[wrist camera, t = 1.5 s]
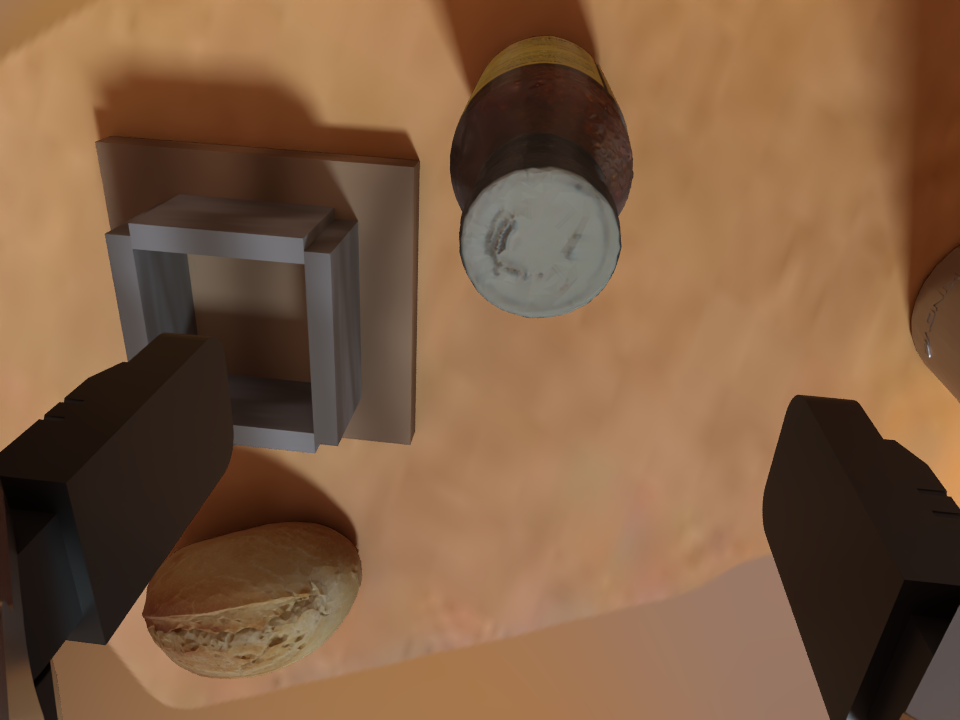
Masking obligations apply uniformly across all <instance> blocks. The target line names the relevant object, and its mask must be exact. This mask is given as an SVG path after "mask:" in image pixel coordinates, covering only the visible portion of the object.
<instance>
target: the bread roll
mask: <svg viewBox="0 0 960 720" xmlns="http://www.w3.org/2000/svg"><path fill="white" fill-rule="evenodd" d="M358 551H359V549H357V548H355V547H354V545H353V544H352V543H351V542H350V541H349V540H348V539H347V538H346V537H344V536H343V535H341V534H340V533H338V532H337V531H335V530H333V529H331V528H329V527H326V526H323V525H320V524H316V523H306V522H282V523H273V524H265V525H263V526H258V527H254V528H249V529H246V530H241V531H236V532H232V533H229V534H226V535H222V536H219V537H215V538H212V539H208V540H204V541H201V542H197V543H194V544H190V545H188V546H185V547H183V548H181V549H180V550H178V551H176V552H175V553H174V554H172V555H171V556H170V557H169V558H168V559H167V560H166V561H165V562H164V563H163V564H162V565H161V566H160V567H159V569H158V570H157V571H156V573H155V574H154V576H153V577H152V579H151V580H150V582H149V584H148V587H147V594H146V602H145V606H144V610H143V612H142V616H143V618H145V621H146V624H147V628H148V631H149V633H150V635H151V636H152V638H153V640H154V642H155V643H156V644H157V645H158V646H159V647H160V648H161V649H162V650H163V651H164V652H165V653H166V655H167V656H168V657H169V658H170V659H171V660H172V661H173V662H175V663H176V664H177V665H179V666H180V667H182V668H184V669H186V670H188V671H190V672H192V673H194V674H197V675H199V676H203V677H208V678H220V679H234V678H248V677H254V676H259V675H264V674H267V673H270V672H274V671H276V670H278V669H281V668H283V667H286V666H288V665H290V664H292V663H294V662H296V661H298V660H300V659H302V658H303V657H305V656H307V655H309V654H310V653H312V652H313V651H315V650H316V649H317V648H319V647H320V646H321V645H322V644H323V643H324V642H325V641H326V640H327V639H328V638H330V637H331V635H332V634H333V633H334V632H335V631H336V630H337V629H338V627H339V626H340V625H341V623H342V622H343V620H344V619H345V618H346V616H347V615H348V613H349V611H350V609H351V607H352V605H353V603H354V601H355V598H356V596H357V593H358V590H359V587H360V585H361V580H362V568H361V560H360V557H359V555H358Z"/></svg>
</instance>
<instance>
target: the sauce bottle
mask: <svg viewBox="0 0 960 720" xmlns="http://www.w3.org/2000/svg"><path fill="white" fill-rule="evenodd" d="M632 168H633V158H632V150H631V146H630V142H629V137H628V132H627V126H626V123H625V120H624V117H623V114H622V112H621V110H620V107H619V105H618V103H617V101H616V99H615V97H614V95H613V93H612V90H611V88H610V86H609V84H608V82H607V80H606V78H605V76H604V74H603V72H602V70H601V68H600V66H599V65H596V64H595V63H594V60H593V58H592V57H591V55H589V54H588V53H587V52H586V51H585V50H584V49H582V48H581V47H579V46H578V45H576V44H574V43H572V42H570V41H568V40H565V39H562V38H558V37H555V36H538V37H535V36H534V37H531V38H527V39H524V40H521V41H518V42H516V43H514V44H512V45H510V46H508V47H507V48H505V49H504V50H503V51H501V52H500V53H499V54H497V55H496V56H495V57H494V58H493V59H492V60H491V62H490V63H489V64H488V65H487V67H486V68H485V70H484V71H483V73H482V75H481V77H480V79H479V81H478V83H477V85H476V87H475V89H474V91H473V93H472V95H471V97H470V99H469V101H468V103H467V105H466V107H465V109H464V112H463V114H462V116H461V118H460V120H459V123H458V125H457V128H456V131H455V134H454V138H453V141H452V148H451V154H450V174H451V182H452V186H453V190H454V193H455V196H456V199H457V201H458V204H459V206H460V208H461V210H462V216H461V222H460V224H461V226H460V232H459V240H460V251H459V252H460V256H461V259H462V263H463V266H464V268H465V270H466V273H467V275H468V277H469V278H470V280H471V282H472V283H473V285H474V287H475V288H476V290H477V291H478V292H479V293H480V294H481V295H482V296H483V297H484V298H485V299H486V300H487V301H489V302H490V303H492V304H493V305H495V306H497V307H498V308H500V309H501V310H504V311H507V312H510V313H513V314H517V315H521V316H523V317H526V318H544V317H553V316H559V315H563V314H567V313H570V312H572V311H574V310H576V309H577V308H579V307H582V306H584V305H586V304H587V303H589V302H590V301H591V300H592V299H593V298H594V297H596V296H597V295H598V294H599V293H600V292H601V291H602V290H603V289H604V287H605V286H606V284H607V283H608V281H609V280H610V278H611V276H612V274H613V273H614V270H615V268H616V265H617V262H618V258H619V255H620V250H621V235H620V223H619V218H618V216H619V214H620V213H621V211H622V209H623V207H624V206H625V203H626V201H627V199H628V195H629V191H630V188H631V183H632V179H633V170H632Z"/></svg>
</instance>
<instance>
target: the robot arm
mask: <svg viewBox="0 0 960 720" xmlns="http://www.w3.org/2000/svg"><path fill="white" fill-rule="evenodd" d="M911 320H912V337H913V341H914V344H915V348H916V351H917V352H918V354H919V356H920V357H921V359H922V360H923V362H924V363H925V365H926V366H927V367H928V368H929V369H930V370H931V371H932V372H933V374H934V375H935V376H936V377H937V378H938V379H939V380H940V381H941V382H942V383H943V385H944V386H945V387H946V388H947V389H948V390H949V391H950V392H951V393H952V395H953V396H954V397H955V398H956V399H957V400H958V402H959V403H960V246H959V247H957V248H956V249H954V250H953V251H952V252H951V253H949V254H948V255H947V256H946V257H945V258H944V259H943V260H942V261H941V262H940V263H939V264H938V265H937V266H936V267H935V268H934V270H933V271H932V273H931V274H930V275H929V277H928V278H927V279H926V281H925V282H924V284H923V286H922V288H921V290H920V292H919V294H918V296H917V299H916V301H915V305H914V309H913V314H912V318H911ZM64 399H65V400H64V403H63V402H59V403H58V404H57V405H56V406H54V407H53V408H52V409H51V410H50V411H49V412H47V413H46V414H45V415H44V420H40V419H39V420H38V421H37V422H35V423H34V424H33V425H32V426H31V427H30V428H28V429H27V430H26V431H25V432H24V433H22V434H21V435H20V436H19V437H18V438H17V439H15V440H14V441H13V442H12V443H11V444H9V445H8V446H7V447H6V448H5V449H3V450H2V451H1V452H0V720H63V716H62V708H61V701H60V695H59V687H58V680H57V674H56V671H55V667H54V663H53V660H52V658H53V656H54V655H55V653H56V652H57V651H58V650H59V648H60V647H61V646H62V644H63V643H64V642H65V640H69V641H78V642H85V643H93V644H101V645H106V644H107V643H108V641H109V640H110V638H111V637H112V635H113V634H114V632H115V631H116V630H117V628H118V627H119V625H120V624H121V622H122V621H123V619H124V618H125V616H126V615H127V614H128V612H129V611H130V609H131V608H132V606H133V605H134V603H135V602H136V601H137V599H138V598H139V596H140V595H141V593H142V592H143V590H144V589H145V587H146V586H147V585H148V583H149V582H150V580H151V579H152V577H153V576H154V574H155V573H156V571H157V570H158V569H159V567H160V566H161V564H162V563H163V561H164V560H165V558H166V557H167V556H168V554H169V553H170V551H171V550H172V548H173V547H174V545H175V544H176V542H177V541H178V540H179V538H180V537H181V535H182V534H183V532H184V531H185V529H186V528H187V526H188V525H189V524H190V522H191V521H192V519H193V518H194V516H195V515H196V513H197V512H198V511H199V509H200V508H201V506H202V505H203V503H204V502H205V500H206V499H207V497H208V496H209V495H210V493H211V492H212V490H213V489H214V487H215V486H216V484H217V483H218V481H219V480H220V479H221V477H222V476H223V474H224V473H225V471H226V469H227V467H228V464H229V461H230V458H231V454H232V449H233V441H234V429H233V420H232V411H231V402H230V393H229V385H228V376H227V367H226V358H225V352H224V348H223V345H222V343H221V342H220V340H219V339H218V338H216V337H209V336H198V335H188V334H178V333H167V332H164V333H161V334H160V335H158V336H157V337H156V338H155V339H154V340H152V341H151V342H150V343H149V344H148V345H147V346H146V347H144V348H143V349H142V350H141V351H140V352H139V353H138V354H137V355H135V356H134V357H133V358H132V359H131V360H130V361H129V362H122V363H120V364H117V365H115V366H113V367H111V368H109V369H107V370H104V371H102V372H100V373H98V374H96V375H94V376H91V377H89V378H88V379H86V380H85V381H84V382H83V383H82V384H81V385H79V386H78V387H77V388H76V389H75V390H73V391H72V392H71V393H70V394H69V395H68V396H66V397H65V398H64ZM763 525H764V531H765V534H766V537H767V540H768V543H769V546H770V549H771V552H772V554H773V557H774V560H775V563H776V566H777V569H778V572H779V574H780V577H781V580H782V583H783V586H784V589H785V592H786V595H787V597H788V600H789V603H790V606H791V608H792V612H793V615H794V617H795V620H796V623H797V626H798V629H799V632H800V635H801V637H802V640H803V643H804V646H805V649H806V652H807V655H808V658H809V660H810V663H811V666H812V669H813V672H814V675H815V678H816V680H817V683H818V686H819V689H820V692H821V695H822V697H823V701H824V703H825V706H826V709H827V712H828V715H829V718H830V720H960V509H959V507H958V506H957V505H956V503H955V502H954V500H953V499H952V498H951V497H948V496H947V491H946V489H945V488H944V487H943V485H942V484H941V483H940V481H939V480H938V478H937V477H936V476H935V474H934V473H933V472H932V470H931V469H930V467H929V466H928V465H927V464H926V463H925V462H923V461H922V460H921V459H919V458H918V457H916V456H915V455H914V454H912V453H911V452H910V451H908V450H907V449H906V448H904V447H903V446H902V445H900V444H899V443H898V442H896V441H895V440H886V439H883V438H882V437H881V435H880V434H879V432H878V431H877V429H876V428H875V426H874V425H873V423H872V422H871V420H870V419H869V417H868V416H867V414H866V413H865V411H864V410H863V408H862V407H861V405H860V404H859V403H858V402H857V401H855V400H847V399H837V398H827V397H816V396H806V395H796V396H795V397H794V398H793V399H792V400H791V402H790V404H789V406H788V408H787V411H786V415H785V418H784V422H783V425H782V429H781V433H780V436H779V440H778V443H777V447H776V450H775V454H774V457H773V461H772V465H771V468H770V472H769V475H768V479H767V482H766V486H765V490H764V496H763Z"/></svg>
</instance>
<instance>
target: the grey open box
mask: <svg viewBox="0 0 960 720" xmlns="http://www.w3.org/2000/svg"><path fill="white" fill-rule="evenodd" d="M95 143H96V148H97V154H98V160H99V165H100V171H101V177H102V182H103V188H104V194H105V199H106V205H107V211H108V216H109V222H110V228H111V231H109V232H107V233H106V234H105V238H106V243H107V249H108V254H109V260H110V265H111V271H112V276H113V282H114V287H115V293H116V298H117V304H118V309H119V315H120V320H121V326H122V331H123V337H124V342H125V348H126V354H127V359H128V362H129V361H130V360H131V359H132V358H133V357H134V356H135V355H137V354H138V353H139V352H140V351H141V350H142V349H143V348H144V347H146V346H147V345H148V344H149V343H150V342H151V341H152V340H154V339H155V338H156V337H157V336H158V335H160V334H161V333H164V332H167V333H178V334H188V335H198V336H209V337H216V338H218V339H219V340H220V342H221V343H222V345H223V348H224V352H225V358H226V367H227V376H228V385H229V393H230V402H231V411H232V420H233V429H234V441H233V445H241V446H251V447H260V448H269V449H279V450H288V451H297V452H307V453H316V451H317V449H318V447H319V445H320V444H323V445H333V446H338V444H339V442H340V440H341V438H349V439H359V440H368V441H378V442H387V443H397V444H406V445H410V444H411V441H412V438H413V435H414V432H415V402H416V344H417V286H418V228H419V170H420V160H408V159H395V158H382V157H370V156H357V155H344V154H332V153H319V152H307V151H294V150H281V149H269V148H256V147H243V146H231V145H218V144H206V143H193V142H180V141H168V140H155V139H142V138H130V137H117V136H110V137H108V138H105V139H102V140H99V141H96V142H95Z"/></svg>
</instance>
